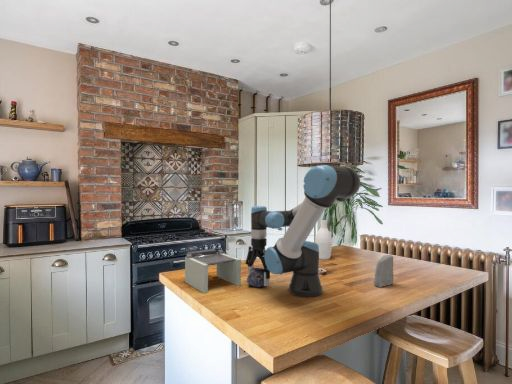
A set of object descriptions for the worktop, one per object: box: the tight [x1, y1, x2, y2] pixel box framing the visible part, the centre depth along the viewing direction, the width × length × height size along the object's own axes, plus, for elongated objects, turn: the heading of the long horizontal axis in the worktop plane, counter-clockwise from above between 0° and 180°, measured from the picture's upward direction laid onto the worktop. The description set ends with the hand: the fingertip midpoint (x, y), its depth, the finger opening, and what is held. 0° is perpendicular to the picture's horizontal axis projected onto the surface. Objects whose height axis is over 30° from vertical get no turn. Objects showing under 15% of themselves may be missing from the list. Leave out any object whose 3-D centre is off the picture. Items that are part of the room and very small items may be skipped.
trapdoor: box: [186, 248, 235, 266], centre depth 156 cm, size 21×15×7 cm
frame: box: [184, 249, 242, 294], centre depth 154 cm, size 20×20×14 cm
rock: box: [246, 266, 265, 288], centre depth 153 cm, size 11×10×10 cm
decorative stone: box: [373, 254, 395, 288], centre depth 154 cm, size 11×6×15 cm, turn 124°
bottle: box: [314, 219, 333, 260], centre depth 212 cm, size 11×11×25 cm
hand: (258, 282), depth 152 cm, fingers closed on rock, 12 cm apart
